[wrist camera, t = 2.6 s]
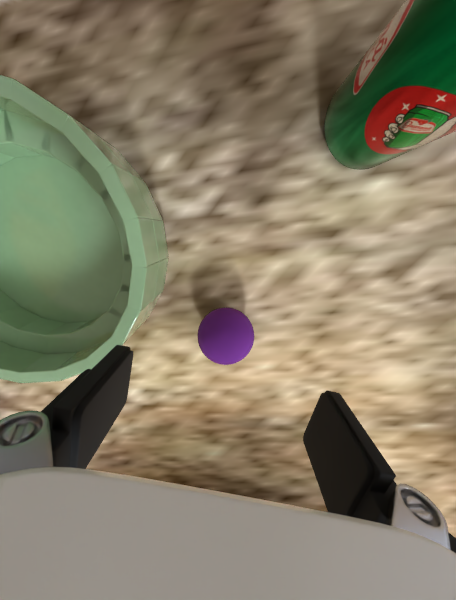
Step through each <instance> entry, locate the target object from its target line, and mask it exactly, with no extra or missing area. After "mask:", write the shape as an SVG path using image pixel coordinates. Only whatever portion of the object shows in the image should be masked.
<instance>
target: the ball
mask: <svg viewBox="0 0 456 600" xmlns="http://www.w3.org/2000/svg"><path fill="white" fill-rule="evenodd" d="M253 341H254V331H253V327H252V324H251V322H250V321H249V319H248V318H247V317H246V316H245V315H244V314H243V313H242V312H240V311H238V310H236V309H233V308H219V309H216V310H214V311H212V312H210V313H209V314H208V315H207V316H206V317H205V318H204V319H203V320H202V322H201V324H200V326H199V330H198V343H199V346H200V348H201V350H202V352H203V353H204V355H205V356H206V357H207V358H208V359H210V360H211V361H213V362H215V363H218V364H224V365H227V364H234V363H236V362H239V361H240V360H242V359H243V358H244V357H245V356H246V355H247V354H248V353H249V352H250V350H251V348H252V345H253Z"/></svg>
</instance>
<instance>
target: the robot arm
mask: <svg viewBox="0 0 456 600" xmlns="http://www.w3.org/2000/svg"><path fill="white" fill-rule="evenodd" d="M132 360H133V351H130V347H127V346H122V345H116V346H115V347H114V348H113V349H112V350H111V351H110V352H109V353H108V354H107V355H106V356H105V357H104V358H103V359H102V360H100V361H99V362H98V363H97V364H96V365H95V366H94V367H93V368H92V369H86V370H85V371H84V372H83V373H81V374H80V375H79V376H78V377H77V378H76V379H75V380H74V381H73V382H72V383H71V384H70V385H69V386H68V387H67V388H66V389H64V390H63V391H62V392H61V393H60V394H59V395H58V396H57V397H56V398H55V399H54V400H53V401H52V402H51V403H50V404H49V405H47V406H46V407H45V408H44V409H43V410H42V411H41V412H38V411H24V412H19V413H16V414H13V415H10V416H8V417H6V418H4V419H2V420H0V600H456V538H455V537H453V536H452V535H451V534H450V533H448V527H447V523H446V520H445V518H444V517H443V515H442V513H441V512H440V510H439V509H438V508H437V507H436V506H435V504H434V503H433V502H432V501H431V500H430V499H429V498H428V497H426V496H425V495H424V494H423V493H421V492H420V491H418V490H417V489H415V488H413V487H411V486H409V485H406V484H399V485H396V483H395V482H394V478H395V477H396V475H395V474H394V472H393V471H392V469H391V468H390V466H389V465H388V463H387V462H386V460H385V459H384V458H383V456H382V455H381V453H380V452H379V450H378V449H377V447H376V446H375V444H374V443H373V441H372V440H371V439H370V437H369V436H368V434H367V433H366V431H365V430H364V428H363V427H362V425H361V424H360V423H359V421H358V420H357V418H356V417H355V415H354V414H353V412H352V411H351V409H350V408H349V406H348V405H347V404H346V402H345V401H344V399H343V398H342V396H341V395H340V394H339V393H336V392H331V391H326V392H325V393H322V394H321V396H320V398H319V400H318V403H317V405H316V407H315V409H314V412H313V414H312V416H311V419H310V421H309V423H308V426H307V428H306V430H305V433H304V436H303V441H304V445H305V448H306V450H307V453H308V456H309V459H310V462H311V465H312V467H313V470H314V473H315V476H316V479H317V482H318V484H319V487H320V490H321V493H322V496H323V499H324V501H325V504H326V507H327V510H328V512H324V511H319V510H314V509H309V508H304V507H299V506H293V505H288V504H283V503H278V502H273V501H267V500H262V499H257V498H251V497H246V496H241V495H235V494H230V493H224V492H219V491H214V490H208V489H203V488H197V487H192V486H186V485H181V484H175V483H169V482H164V481H158V480H153V479H147V478H142V477H136V476H129V475H123V474H117V473H111V472H104V471H98V470H90V469H86V467H87V465H88V464H89V462H90V460H91V459H92V457H93V456H94V454H95V452H96V451H97V449H98V447H99V446H100V444H101V443H102V441H103V439H104V438H105V436H106V434H107V433H108V431H109V430H110V428H111V426H112V425H113V423H114V421H115V420H116V418H117V417H118V415H119V413H120V412H121V410H122V408H123V407H124V405H125V403H126V400H127V395H128V388H129V381H130V374H131V367H132Z"/></svg>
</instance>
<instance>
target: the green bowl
mask: <svg viewBox="0 0 456 600" xmlns="http://www.w3.org/2000/svg"><path fill="white" fill-rule="evenodd" d="M162 220H163V219H162V217H161V215H160V213H159V211H158V209H157V206H156V204H155V202H154V200H153V198H152V196H151V193H150V191H149V189H148V187H147V185H146V183H145V182H144V180H143V179H142V178H141V177H140V176H139V175H138V173H137V172H136V171H135V170H134V169H133V168H132V166H131V165H130V164H129V163H128V162H127V161H126V159H125V158H124V157H123V156H122V155H121V154H120V152H119V151H118V150H117V149H115V148H114V147H113V146H112V145H110V144H109V143H107V142H106V141H105V140H103V139H102V138H100V137H99V136H98V135H96V134H95V133H93V132H92V131H91V130H89V129H88V128H86V127H85V126H84V125H82V124H81V123H79V122H78V121H77V120H75V119H74V118H72V117H71V116H70V115H68V114H67V113H65V112H64V111H62V110H61V109H59V108H58V107H56V106H55V105H53V104H51V103H50V102H48V101H47V100H45V99H44V98H42V97H41V96H39V95H38V94H36V93H35V92H33V91H32V90H30V89H29V88H27V87H26V86H24V85H23V84H21V83H20V82H18V81H17V80H15V79H12V78H9V77H6V76H2V75H0V379H4V380H9V381H14V382H19V383H33V382H50V381H62V380H64V379H67V378H70V377H72V376H75V375H78V374H80V373H83V372H84V371H85V370H86V369H92V368H93V367H94V366H95V365H96V364H97V363H98V362H99V361H100V360H102V359H103V358H104V357H105V356H106V355H107V354H108V353H109V352H110V351H111V350H112V349H113V348H114V347H115V346H116V345H123V344H124V343H125V342H126V340H127V339H128V338H129V337H130V336H131V335H132V334H133V333H134V332H135V331H136V330H137V329H138V328H139V327H140V326H141V325H142V323H143V322H144V321H145V320H146V319H147V318H148V317H149V315H150V313H151V312H152V310H153V308H154V306H155V304H156V303H157V301H158V299H159V297H160V295H161V294H162V291H163V289H164V283H165V277H166V271H167V265H168V259H169V258H168V251H167V244H166V237H165V231H164V224H163V221H162Z"/></svg>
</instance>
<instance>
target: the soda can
mask: <svg viewBox="0 0 456 600" xmlns="http://www.w3.org/2000/svg"><path fill="white" fill-rule="evenodd" d="M455 131H456V0H406V1H405V3H404V4H403V5H402V7H401V8H400V9H399V10H398V12H397V13H396V14H395V16H394V17H393V18H392V20H391V21H390V22H389V24H388V25H387V26H386V27H385V29H384V30H383V31H382V33H381V34H380V35H379V37H378V38H377V39H376V40H375V42H374V43H373V44H372V46H371V47H370V48H369V50H368V51H367V52H366V54H365V55H364V56H363V57H362V59H361V60H360V61H359V63H358V64H357V65H356V67H355V68H354V69H353V70H352V72H351V73H350V74H349V76H348V77H347V78H346V80H345V81H344V82H343V84H342V85H341V86H340V87H339V89H338V90H337V91H336V93H335V94H334V96H333V98H332V100H331V102H330V104H329V107H328V110H327V113H326V118H325V138H326V142H327V146H328V148H329V150H330V152H331V153H332V155H333V156H334V158H335V159H336V160H337V161H338V162H340V163H341V164H343V165H344V166H346V167H349V168H352V169H369V168H372V167H375V166H377V165H380V164H382V163H384V162H386V161H389V160H391V159H393V158H396V157H398V156H400V155H402V154H405V153H407V152H409V151H411V150H414V149H416V148H418V147H421V146H423V145H425V144H427V143H430V142H432V141H434V140H436V139H439V138H441V137H443V136H446V135H448V134H450V133H452V132H455Z"/></svg>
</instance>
